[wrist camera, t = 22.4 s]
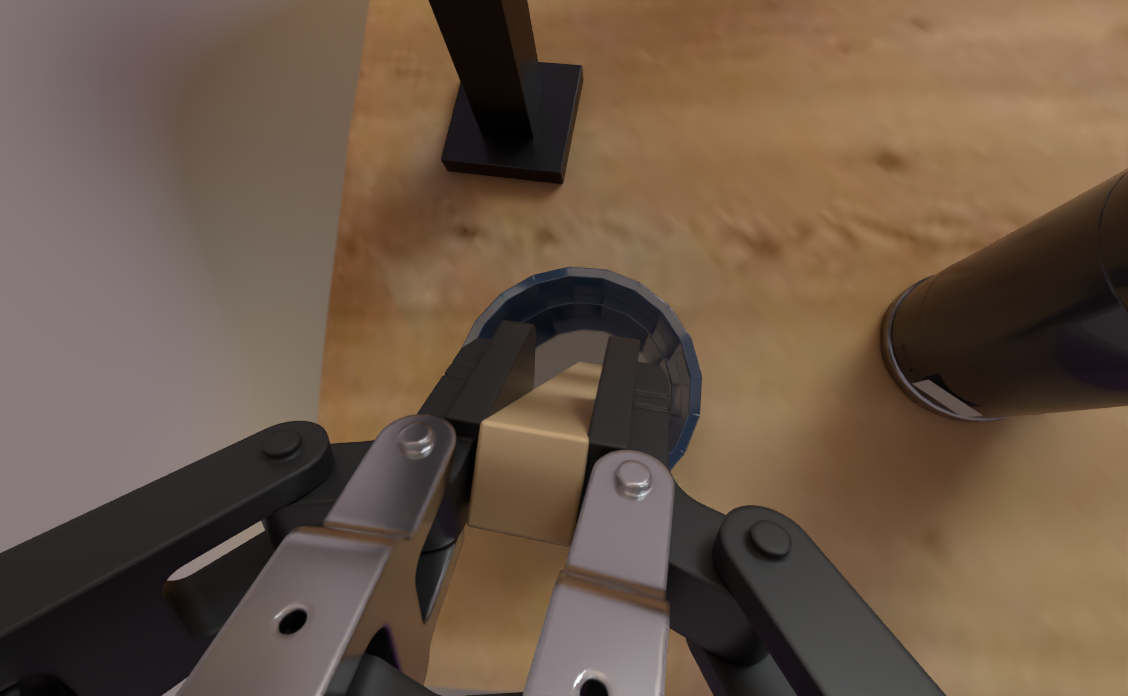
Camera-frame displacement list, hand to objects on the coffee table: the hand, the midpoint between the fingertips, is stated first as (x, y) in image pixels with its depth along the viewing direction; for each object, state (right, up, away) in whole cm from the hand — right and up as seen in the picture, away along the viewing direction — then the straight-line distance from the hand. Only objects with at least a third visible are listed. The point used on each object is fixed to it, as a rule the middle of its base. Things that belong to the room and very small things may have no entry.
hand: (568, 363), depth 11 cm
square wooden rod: (+1, -2, +7) cm, 8 cm away
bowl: (+1, -3, +21) cm, 21 cm away
